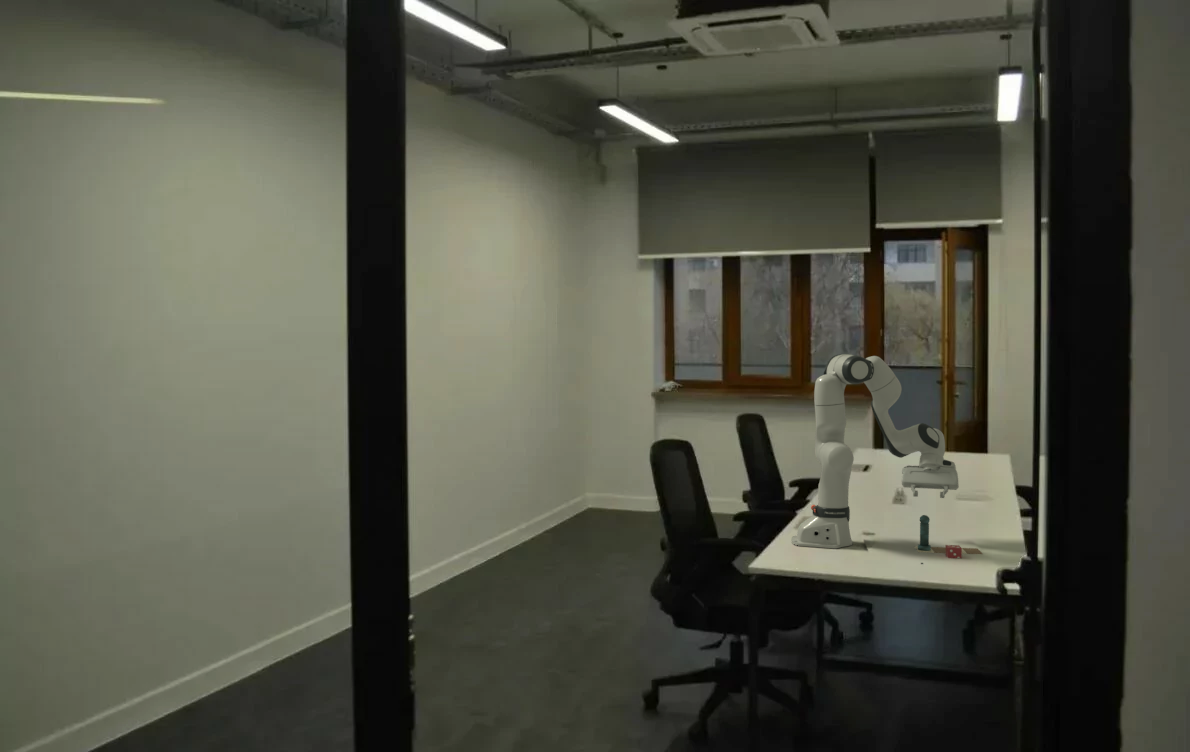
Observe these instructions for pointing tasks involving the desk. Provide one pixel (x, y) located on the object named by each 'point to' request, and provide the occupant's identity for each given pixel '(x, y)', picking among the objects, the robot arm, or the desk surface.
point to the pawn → (924, 534)
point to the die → (953, 551)
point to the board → (943, 550)
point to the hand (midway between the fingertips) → (928, 496)
